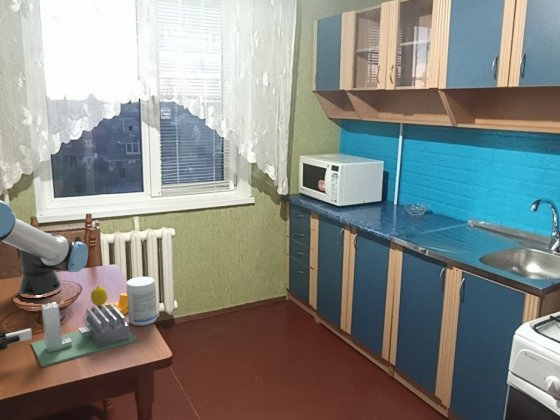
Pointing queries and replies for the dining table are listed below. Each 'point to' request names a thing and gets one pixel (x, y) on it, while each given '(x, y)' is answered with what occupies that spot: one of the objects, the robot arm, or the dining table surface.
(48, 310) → the white upright block
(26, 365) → the dining table surface
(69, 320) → the dining table surface
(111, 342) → the heatsink
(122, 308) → the pipe clamp
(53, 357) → the board
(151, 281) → the supplement tub
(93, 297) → the lemon
